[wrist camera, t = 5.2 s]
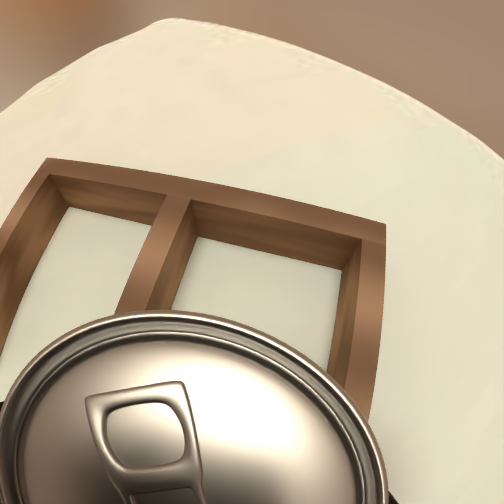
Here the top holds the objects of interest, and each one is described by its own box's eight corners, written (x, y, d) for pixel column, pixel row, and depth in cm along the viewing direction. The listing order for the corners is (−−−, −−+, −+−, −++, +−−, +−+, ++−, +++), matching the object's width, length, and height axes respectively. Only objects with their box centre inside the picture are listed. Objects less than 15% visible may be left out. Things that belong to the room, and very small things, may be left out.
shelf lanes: (325, 487, 14) (347, 504, 10) (-15, 357, 15) (-49, 341, 12) (364, 256, 21) (386, 224, 18) (65, 189, 23) (47, 157, 19)
